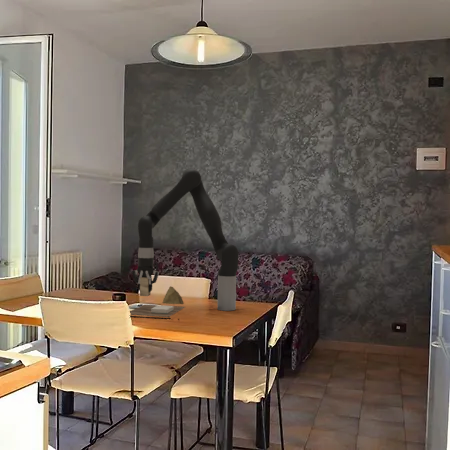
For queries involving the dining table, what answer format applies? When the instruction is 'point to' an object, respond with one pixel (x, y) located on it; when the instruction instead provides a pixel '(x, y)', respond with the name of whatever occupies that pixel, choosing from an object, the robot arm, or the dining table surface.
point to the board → (146, 311)
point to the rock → (172, 297)
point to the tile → (162, 309)
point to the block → (144, 286)
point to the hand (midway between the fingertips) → (145, 291)
